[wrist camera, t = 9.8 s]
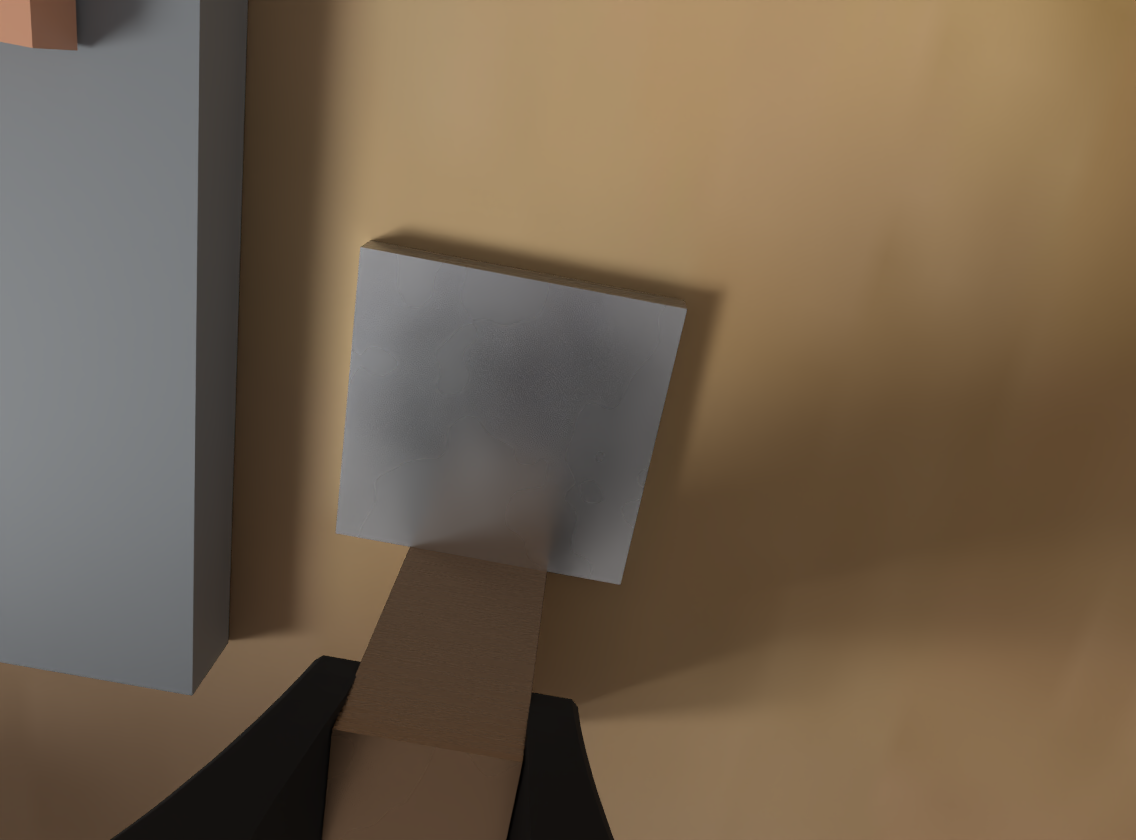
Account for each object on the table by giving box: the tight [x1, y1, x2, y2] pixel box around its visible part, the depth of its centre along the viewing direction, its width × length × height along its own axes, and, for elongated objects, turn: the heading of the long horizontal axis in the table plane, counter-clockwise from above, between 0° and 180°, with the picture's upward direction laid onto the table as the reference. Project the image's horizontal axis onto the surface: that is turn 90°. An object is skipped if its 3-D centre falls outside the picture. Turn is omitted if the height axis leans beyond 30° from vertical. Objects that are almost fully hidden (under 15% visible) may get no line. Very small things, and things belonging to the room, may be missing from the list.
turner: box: [322, 240, 687, 840], centre depth 13 cm, size 9×5×5 cm, turn 170°
